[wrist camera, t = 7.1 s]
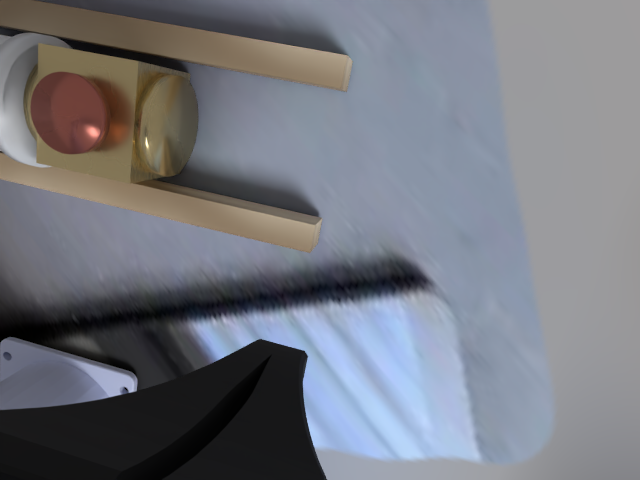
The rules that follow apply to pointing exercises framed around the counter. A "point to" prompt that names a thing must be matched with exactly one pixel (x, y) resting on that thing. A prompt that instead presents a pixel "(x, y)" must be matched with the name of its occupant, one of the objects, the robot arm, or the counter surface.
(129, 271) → the counter surface
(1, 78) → the coupling
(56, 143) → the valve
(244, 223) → the guide rails
